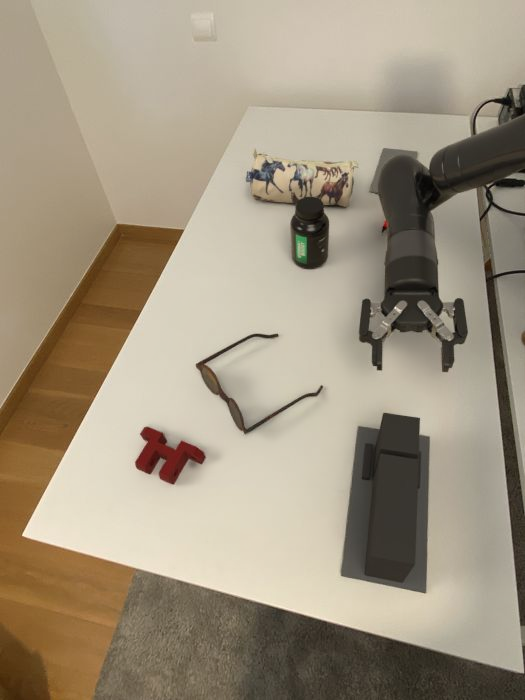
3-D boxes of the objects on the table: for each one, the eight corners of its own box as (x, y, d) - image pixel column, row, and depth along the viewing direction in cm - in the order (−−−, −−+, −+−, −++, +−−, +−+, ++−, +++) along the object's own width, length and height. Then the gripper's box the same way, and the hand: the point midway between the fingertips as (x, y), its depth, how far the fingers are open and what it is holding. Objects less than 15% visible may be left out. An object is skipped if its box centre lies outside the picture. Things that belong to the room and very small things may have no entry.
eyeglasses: (198, 375, 80) (192, 357, 76) (274, 331, 84) (272, 312, 80) (246, 443, 73) (243, 427, 69) (328, 391, 77) (329, 373, 73)
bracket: (202, 449, 69) (142, 424, 72) (182, 485, 67) (120, 458, 70) (205, 457, 72) (147, 433, 75) (186, 492, 69) (126, 466, 72)
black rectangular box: (408, 448, 69) (420, 417, 62) (407, 482, 67) (418, 454, 59) (375, 443, 70) (383, 412, 63) (372, 477, 67) (380, 448, 60)
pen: (410, 177, 105) (411, 172, 104) (383, 236, 96) (384, 231, 95) (406, 176, 106) (407, 172, 105) (379, 234, 96) (379, 230, 95)
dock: (429, 438, 71) (443, 404, 63) (425, 593, 59) (442, 575, 51) (357, 427, 73) (363, 393, 65) (340, 576, 61) (345, 555, 53)
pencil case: (247, 207, 104) (242, 166, 96) (257, 183, 109) (252, 141, 101) (352, 217, 100) (356, 174, 92) (358, 190, 105) (361, 148, 97)
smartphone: (418, 151, 111) (407, 194, 102) (417, 153, 111) (406, 197, 102) (383, 147, 112) (369, 189, 104) (383, 150, 113) (369, 192, 104)
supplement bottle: (303, 275, 92) (302, 223, 82) (285, 253, 95) (282, 201, 86) (335, 260, 93) (337, 208, 83) (315, 240, 97) (316, 187, 87)
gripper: (458, 282, 75) (464, 382, 68) (362, 283, 79) (358, 378, 72) (466, 252, 69) (473, 358, 62) (361, 254, 72) (357, 355, 65)
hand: (411, 369), depth 67 cm, fingers open, 8 cm apart
